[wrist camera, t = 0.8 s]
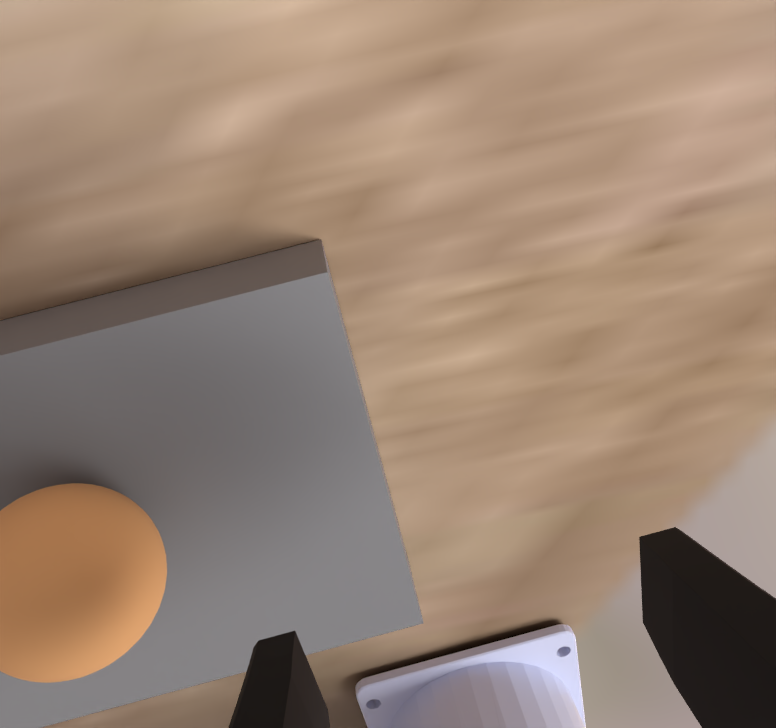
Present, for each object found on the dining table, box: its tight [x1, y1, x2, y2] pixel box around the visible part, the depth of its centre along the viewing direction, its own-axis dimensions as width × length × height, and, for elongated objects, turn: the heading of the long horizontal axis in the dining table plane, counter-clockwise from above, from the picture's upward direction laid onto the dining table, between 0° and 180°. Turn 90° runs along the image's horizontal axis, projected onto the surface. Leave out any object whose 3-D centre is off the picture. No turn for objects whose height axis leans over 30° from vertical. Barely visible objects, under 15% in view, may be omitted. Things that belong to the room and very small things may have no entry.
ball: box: [0, 483, 167, 683], centre depth 14 cm, size 4×4×4 cm
